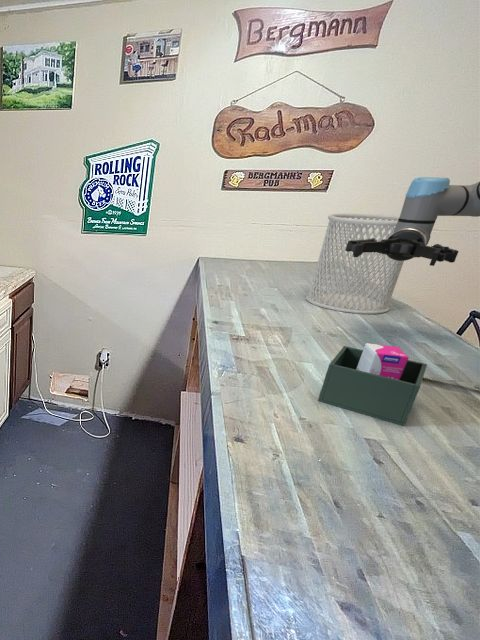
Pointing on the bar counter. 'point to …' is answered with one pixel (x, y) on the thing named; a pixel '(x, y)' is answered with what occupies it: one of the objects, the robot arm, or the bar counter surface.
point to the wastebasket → (349, 300)
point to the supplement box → (383, 360)
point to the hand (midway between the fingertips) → (393, 255)
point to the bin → (371, 388)
